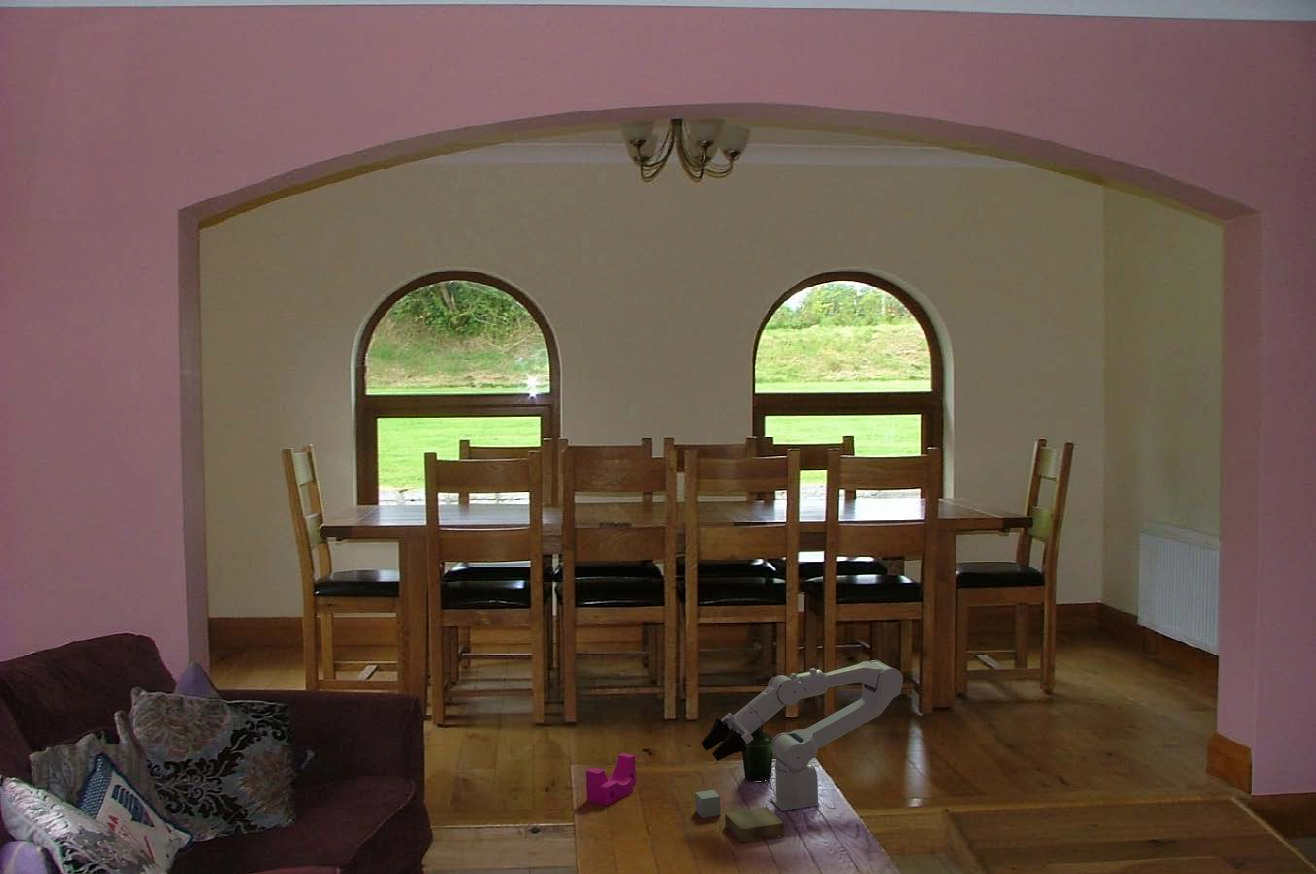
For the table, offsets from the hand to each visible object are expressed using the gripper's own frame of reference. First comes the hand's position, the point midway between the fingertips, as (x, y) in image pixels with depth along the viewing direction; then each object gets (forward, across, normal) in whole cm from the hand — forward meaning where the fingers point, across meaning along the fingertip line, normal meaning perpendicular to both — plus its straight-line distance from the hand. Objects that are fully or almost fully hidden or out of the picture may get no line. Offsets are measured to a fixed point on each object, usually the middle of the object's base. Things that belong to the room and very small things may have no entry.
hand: (709, 752), depth 277 cm
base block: (+3, +12, +16) cm, 20 cm away
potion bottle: (-8, -19, +23) cm, 31 cm away
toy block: (+22, -22, +4) cm, 32 cm away
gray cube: (+8, -2, +13) cm, 15 cm away
